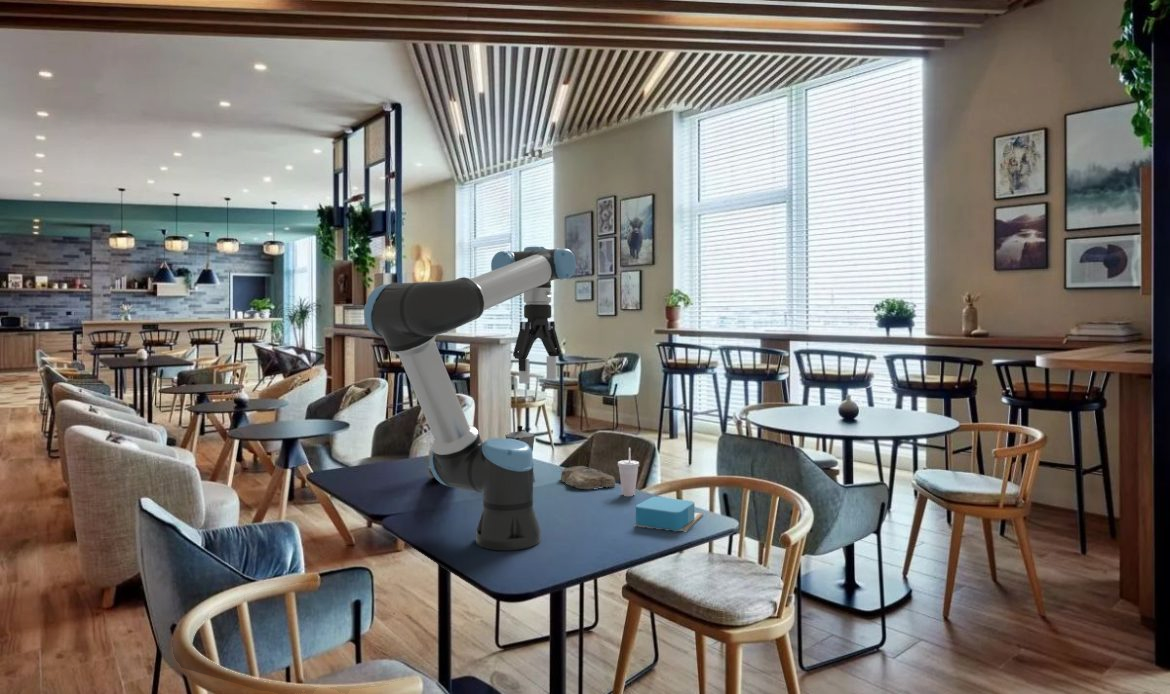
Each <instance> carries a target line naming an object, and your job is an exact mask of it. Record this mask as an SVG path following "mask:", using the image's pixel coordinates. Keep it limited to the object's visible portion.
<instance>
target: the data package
mask: <svg viewBox="0 0 1170 694" xmlns="http://www.w3.org/2000/svg"><path fill="white" fill-rule="evenodd" d="M694 513H695V502H694V501H692V500H686V499H678V498H672V497H662V496H651V497H650V498H648V499H645V500H643V501H642V502H640V503H638V504H636V505H635V523H636V524H638V525H643V526H650V527H656V528H663V529H669V530H680V529H682V528H683V527H685V526H686V525H687V524H689V523H690V522H692V521H693V520H694ZM669 530H668V531H669Z"/></svg>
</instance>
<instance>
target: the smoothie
mask: <svg viewBox="0 0 1170 694" xmlns="http://www.w3.org/2000/svg"><path fill="white" fill-rule="evenodd" d="M631 450H632V449H631V447H628V459H625V460H623V459H622V460H620V461H618V462H617V467H618V472H619V478H620V488H621V495H622V496H623V495H624V496H623V497H634V496H636V487H637V481H638V472H639V467H640V461H637V460H634V459H633V460H632V459H631V458H632V455H631V454H632V453H631ZM633 495H634V496H633Z"/></svg>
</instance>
